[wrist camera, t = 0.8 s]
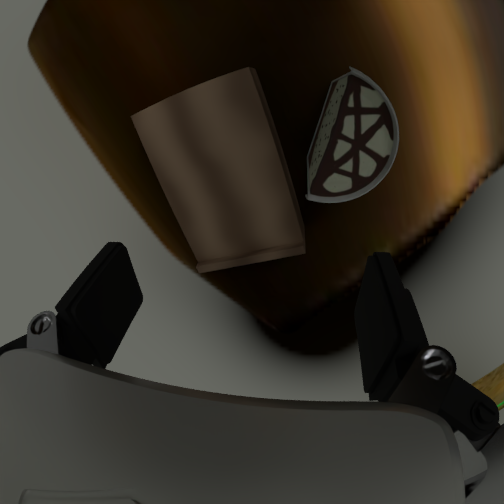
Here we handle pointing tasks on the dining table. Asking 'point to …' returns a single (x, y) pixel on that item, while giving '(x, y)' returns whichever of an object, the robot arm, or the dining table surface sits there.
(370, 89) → the food container
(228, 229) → the brown rectangular block
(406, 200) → the dining table surface
